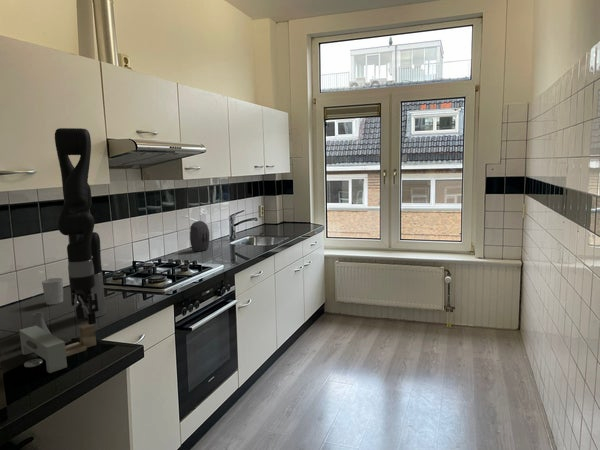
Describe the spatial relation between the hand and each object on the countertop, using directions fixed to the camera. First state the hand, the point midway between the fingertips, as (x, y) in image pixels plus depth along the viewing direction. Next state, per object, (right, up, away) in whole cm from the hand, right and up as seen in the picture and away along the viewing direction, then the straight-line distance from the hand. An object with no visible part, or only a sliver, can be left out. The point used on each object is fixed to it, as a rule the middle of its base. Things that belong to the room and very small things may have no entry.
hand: (86, 321), depth 153 cm
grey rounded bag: (+6, +15, +152) cm, 153 cm away
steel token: (-11, -11, -11) cm, 19 cm away
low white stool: (-9, -10, -9) cm, 16 cm away
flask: (-18, -8, +6) cm, 21 cm away
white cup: (-36, -2, +49) cm, 61 cm away
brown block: (-3, -9, -2) cm, 10 cm away
